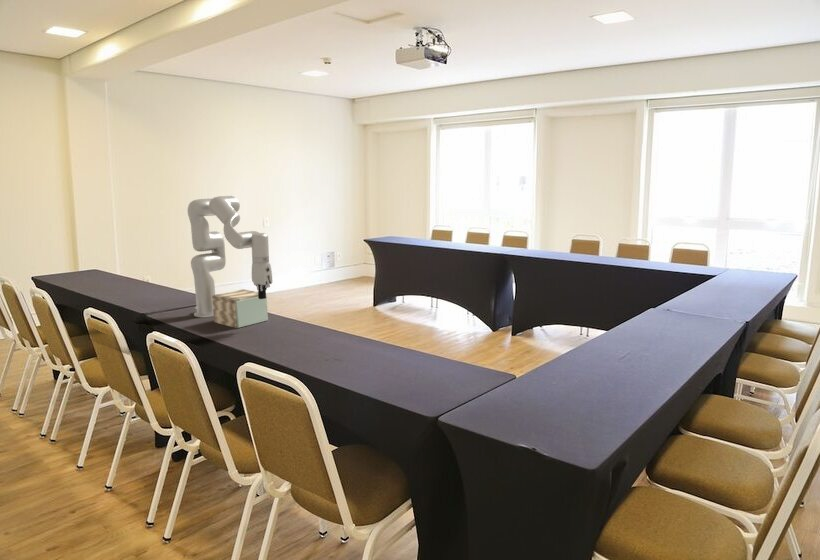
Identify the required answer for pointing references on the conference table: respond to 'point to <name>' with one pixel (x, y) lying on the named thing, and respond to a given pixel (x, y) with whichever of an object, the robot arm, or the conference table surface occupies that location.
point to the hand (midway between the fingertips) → (262, 298)
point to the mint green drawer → (251, 311)
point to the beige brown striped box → (229, 306)
